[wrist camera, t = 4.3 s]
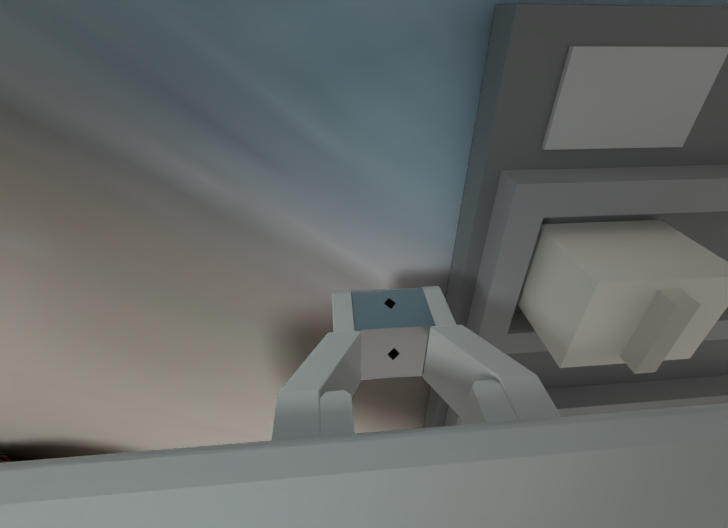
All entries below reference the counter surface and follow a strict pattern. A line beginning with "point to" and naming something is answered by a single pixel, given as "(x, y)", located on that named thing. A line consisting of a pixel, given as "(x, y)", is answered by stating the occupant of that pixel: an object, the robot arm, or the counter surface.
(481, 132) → the switch bank
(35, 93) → the counter surface
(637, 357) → the tab
